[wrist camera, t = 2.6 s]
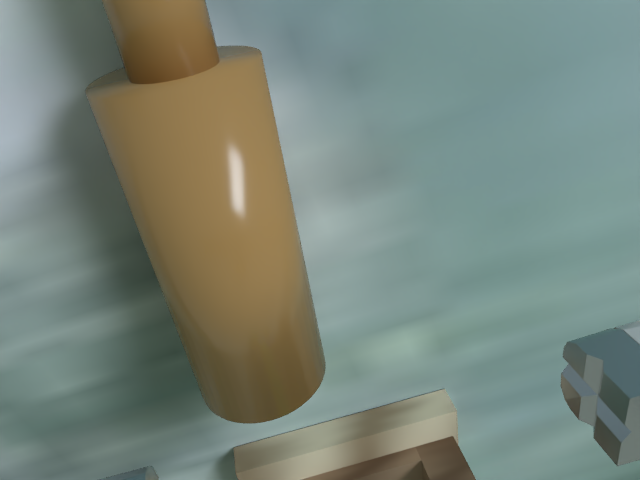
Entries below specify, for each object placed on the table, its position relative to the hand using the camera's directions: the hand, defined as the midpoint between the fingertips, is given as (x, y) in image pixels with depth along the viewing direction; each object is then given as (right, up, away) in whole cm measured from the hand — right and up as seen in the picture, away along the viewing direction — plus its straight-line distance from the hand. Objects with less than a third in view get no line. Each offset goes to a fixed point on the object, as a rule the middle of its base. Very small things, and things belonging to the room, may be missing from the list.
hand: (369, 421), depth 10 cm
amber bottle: (-2, +6, +8) cm, 10 cm away
